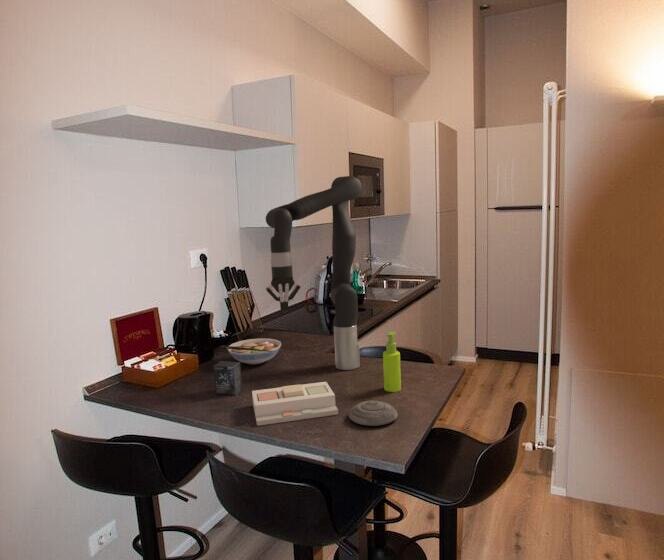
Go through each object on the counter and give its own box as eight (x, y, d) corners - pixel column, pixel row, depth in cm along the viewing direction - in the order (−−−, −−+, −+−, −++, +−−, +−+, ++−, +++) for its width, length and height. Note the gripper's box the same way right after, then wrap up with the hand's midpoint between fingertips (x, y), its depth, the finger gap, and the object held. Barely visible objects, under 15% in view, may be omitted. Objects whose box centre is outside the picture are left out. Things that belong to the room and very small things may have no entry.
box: (215, 394, 178) (213, 365, 177) (223, 388, 183) (221, 360, 182) (235, 395, 176) (232, 366, 174) (242, 389, 181) (240, 361, 180)
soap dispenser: (403, 385, 178) (401, 330, 175) (399, 392, 171) (397, 336, 168) (386, 384, 180) (385, 330, 177) (382, 391, 173) (380, 335, 170)
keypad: (326, 395, 172) (326, 381, 171) (338, 414, 156) (337, 399, 155) (253, 405, 166) (252, 390, 166) (257, 425, 150) (255, 410, 150)
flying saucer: (372, 405, 163) (372, 388, 162) (408, 418, 151) (407, 401, 150) (338, 419, 153) (337, 402, 152) (373, 434, 142) (372, 416, 141)
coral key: (276, 400, 164) (276, 391, 164) (278, 407, 158) (278, 398, 158) (258, 402, 163) (257, 394, 162) (259, 410, 157) (259, 400, 157)
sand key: (300, 392, 166) (299, 384, 165) (303, 399, 160) (303, 390, 160) (282, 395, 164) (281, 386, 164) (284, 402, 159) (284, 392, 158)
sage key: (324, 394, 168) (323, 385, 167) (328, 400, 162) (327, 392, 161) (306, 396, 166) (306, 388, 166) (309, 403, 161) (309, 394, 160)
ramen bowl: (294, 356, 218) (293, 338, 217) (266, 373, 198) (265, 353, 196) (246, 352, 228) (244, 334, 227) (215, 368, 208) (213, 349, 207)
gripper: (298, 262, 185) (300, 308, 187) (262, 264, 182) (265, 311, 185) (301, 264, 178) (304, 312, 180) (264, 267, 175) (267, 315, 177)
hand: (284, 311), depth 182 cm, fingers closed
